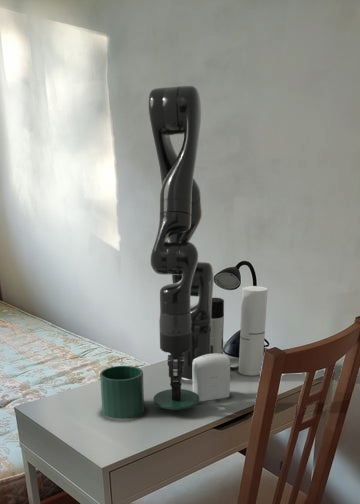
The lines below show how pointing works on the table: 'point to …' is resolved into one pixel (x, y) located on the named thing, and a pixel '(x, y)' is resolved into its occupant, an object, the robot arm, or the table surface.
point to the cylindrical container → (252, 329)
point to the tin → (122, 392)
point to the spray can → (217, 325)
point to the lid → (185, 402)
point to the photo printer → (211, 376)
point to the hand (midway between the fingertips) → (176, 396)
